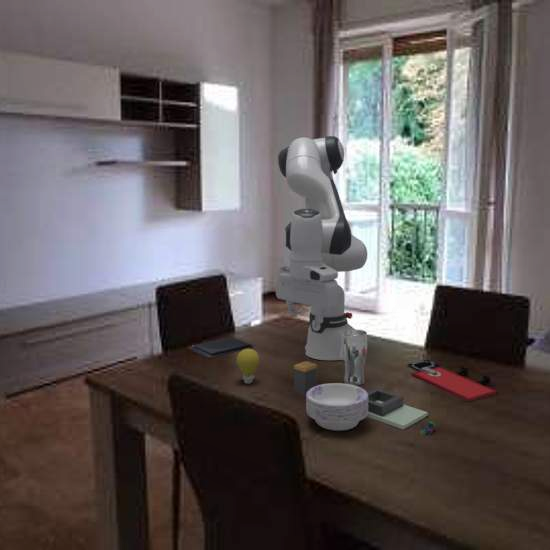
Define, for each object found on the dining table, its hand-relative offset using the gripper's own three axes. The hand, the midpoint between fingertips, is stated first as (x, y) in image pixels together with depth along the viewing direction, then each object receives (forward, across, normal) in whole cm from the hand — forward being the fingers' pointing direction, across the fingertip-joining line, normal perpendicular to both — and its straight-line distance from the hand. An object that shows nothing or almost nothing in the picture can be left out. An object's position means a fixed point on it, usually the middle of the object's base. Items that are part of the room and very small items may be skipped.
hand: (305, 319), depth 164 cm
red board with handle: (+22, +24, +37) cm, 49 cm away
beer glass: (+21, +5, +16) cm, 27 cm away
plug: (+21, 0, 0) cm, 21 cm away
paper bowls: (+21, +19, -10) cm, 30 cm away
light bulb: (+21, -17, -6) cm, 28 cm away
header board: (+21, +22, +4) cm, 31 cm away
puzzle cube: (+22, +38, +2) cm, 44 cm away
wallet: (+22, -48, +10) cm, 54 cm away
